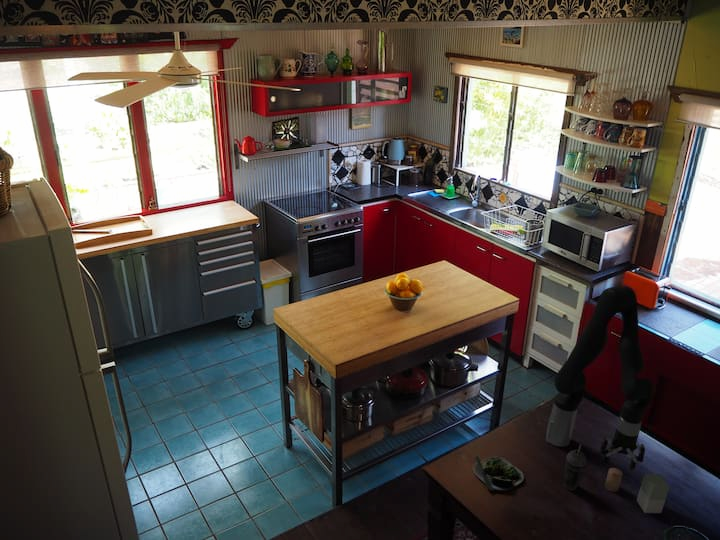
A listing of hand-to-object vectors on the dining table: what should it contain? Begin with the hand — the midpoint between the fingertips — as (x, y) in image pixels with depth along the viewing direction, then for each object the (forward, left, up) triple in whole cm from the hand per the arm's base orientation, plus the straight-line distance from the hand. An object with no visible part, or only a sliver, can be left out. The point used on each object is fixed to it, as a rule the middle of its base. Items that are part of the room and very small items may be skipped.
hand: (618, 466), depth 219 cm
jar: (0, 0, -10) cm, 10 cm away
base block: (+12, -6, -10) cm, 16 cm away
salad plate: (-41, -9, -11) cm, 44 cm away
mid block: (+12, -6, -4) cm, 14 cm away
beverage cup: (-15, -5, -10) cm, 19 cm away
